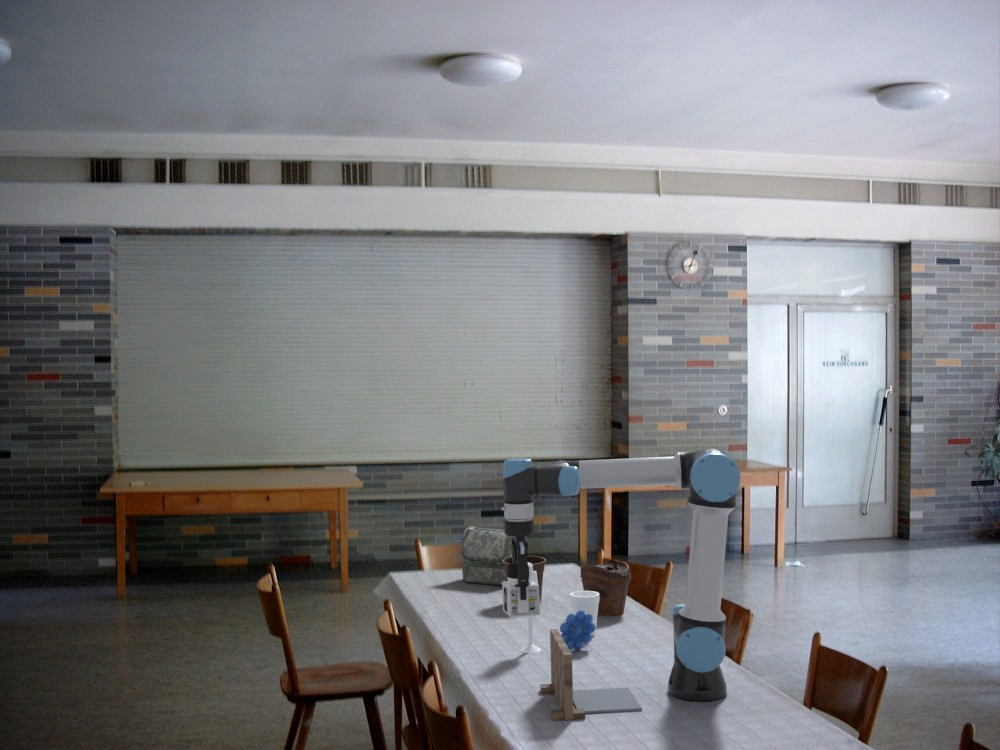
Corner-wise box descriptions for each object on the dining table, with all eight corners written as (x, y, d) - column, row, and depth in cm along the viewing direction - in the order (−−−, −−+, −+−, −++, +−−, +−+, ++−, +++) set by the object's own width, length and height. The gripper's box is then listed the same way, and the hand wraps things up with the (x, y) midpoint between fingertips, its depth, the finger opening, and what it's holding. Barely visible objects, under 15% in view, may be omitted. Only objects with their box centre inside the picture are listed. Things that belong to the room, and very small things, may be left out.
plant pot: (547, 608, 351) (546, 563, 351) (502, 609, 352) (501, 564, 352) (546, 597, 368) (545, 555, 368) (503, 598, 368) (502, 556, 368)
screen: (585, 719, 239) (584, 653, 238) (553, 721, 238) (551, 655, 238) (569, 687, 262) (568, 628, 262) (540, 689, 262) (538, 629, 262)
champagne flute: (528, 645, 304) (526, 568, 304) (546, 649, 299) (544, 571, 299) (515, 650, 298) (513, 572, 298) (532, 654, 294) (530, 575, 294)
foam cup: (598, 638, 310) (597, 597, 310) (569, 637, 312) (568, 596, 312) (601, 630, 320) (600, 590, 320) (573, 629, 321) (572, 590, 321)
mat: (642, 710, 244) (641, 707, 244) (578, 713, 242) (578, 711, 242) (627, 689, 260) (627, 687, 260) (568, 692, 258) (568, 690, 258)
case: (631, 604, 354) (629, 555, 354) (633, 618, 334) (631, 566, 334) (582, 605, 356) (580, 556, 356) (581, 619, 336) (579, 567, 336)
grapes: (591, 644, 304) (590, 606, 304) (598, 650, 297) (597, 611, 297) (555, 647, 301) (554, 608, 301) (561, 653, 294) (560, 614, 294)
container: (510, 618, 244) (509, 566, 244) (502, 611, 252) (501, 560, 252) (540, 615, 246) (538, 564, 246) (531, 608, 254) (529, 558, 254)
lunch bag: (454, 582, 399) (453, 529, 399) (478, 574, 415) (477, 522, 415) (508, 588, 385) (507, 533, 385) (531, 579, 401) (530, 526, 401)
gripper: (500, 514, 259) (502, 599, 259) (508, 526, 238) (510, 619, 238) (528, 512, 260) (530, 597, 260) (538, 525, 239) (541, 617, 239)
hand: (521, 607), depth 249 cm, fingers closed on container, 8 cm apart
